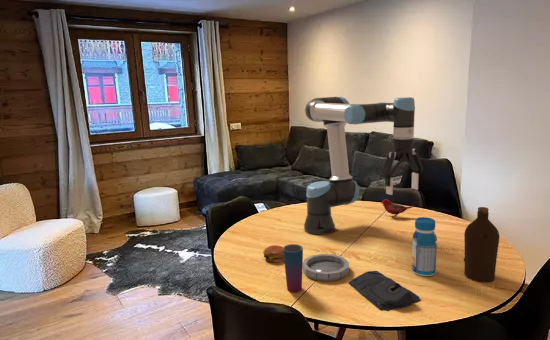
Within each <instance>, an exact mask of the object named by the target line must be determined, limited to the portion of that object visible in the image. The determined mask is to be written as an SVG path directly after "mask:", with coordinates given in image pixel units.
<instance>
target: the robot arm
mask: <svg viewBox="0 0 550 340" xmlns="http://www.w3.org/2000/svg"><path fill="white" fill-rule="evenodd" d="M415 110H416V106H415V99H414V97H395V98H394V99H393V102H385V101H384V102H377V103H361V104H360V103H359V104H358V103H350V102H349V101H348V100H347V98H345V97H343V96H327V97H315V98H313V99H311V100H309V101H308V102H307V104H306V105H305V108H304V113H305V115H306V118H308V120H310V121H312V122H314V123H316V122H317V123H319V122H320V123H323V126H324V127H325V128H326V131H327V141H328V151H329V159H330V170H331V177H330V178H329V180H328V181H326V180H321V181H315V182H312V183H310V184H308V186H307V187H306V210H307V211H306V212H307V213H306V218H305V221H304V225H303V229H304V231H305V232H306V233H308V234H312V235H328V234H331V233H334V231H335V229H336V224H335V222H334V219H333V216H332V208H335V207H340V206H348V205H349V204H353V203H355V202H356V201H357V200H358V198H359V194H360V193H359V192H360V189H359V185H358V183H357V181H355V180H354V178H353V176H352V175H350V170H349V162H348V161H349V159H348V158H349V157H348V151H347V150H348V148H347V141H346V130H345V126H346V125H347V124H348V125H361V124H362V125H363V124H373V123H386V122H388V123H393V132H392V134H393V135H392V137H393V140H392V144H393V145H392V147H393V149H394V151H393V152H392V151H388V152H387V157H386V160H385V162H384V166H383V168H382V171H381V173H380V177H383V178H384V181H385V182H384V184H385V185H384V186H385V194H387V195H391V196H393V191H394V190H393V189H394V187H393V185H394V178H393V175H394V173H395V172H396V170H397V169H398V167H399V165H401V163H407V164H408V166H409V167H410V169H411V170H412V172H411V189H413V190H417V191H418V190H419V181H420V174H422V173H423V171H424V166H423V163H422V160H421V158H420V154H419V149H418V148H414V143H415V139H414V137H415V136H414V135H415V113H416V111H415Z"/></svg>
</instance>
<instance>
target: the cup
mask: <svg viewBox="0 0 550 340" xmlns="http://www.w3.org/2000/svg"><path fill="white" fill-rule="evenodd" d="M282 247H283V254H284V261H283V262H284V263H283V264H284V271H285V272H284V273H285V280H286V281H285V282H286V289H287V291H288V292H290V293H299V292H300V291H302V289H303V267H302V264H303V262H304V259H303V258H304V257H303V256H304V247H303V245H301V244H295V243H291V244H287V245H284V246H282Z"/></svg>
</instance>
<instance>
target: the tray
mask: <svg viewBox="0 0 550 340" xmlns="http://www.w3.org/2000/svg"><path fill="white" fill-rule="evenodd" d="M349 268H350V262H349V261H348V260H347V259H346V258H345V257H344V256H340V255H336V254H332V253H320V254H312V255H310V256H308V257H306V258H304V259H303V264H302V273H303V274H304V275H305V276H306V277H307V278H309V279H311V280H314V281H319V282H335V281H340V280H343V279H344V278H346V277H347V276H348V275H349V271H350V270H349Z"/></svg>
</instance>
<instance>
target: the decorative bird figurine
mask: <svg viewBox="0 0 550 340" xmlns="http://www.w3.org/2000/svg"><path fill="white" fill-rule="evenodd" d="M380 204H382V205H383V207H384V210H385V211H386V212H387V213H389V214H390V215H391V216H390V215H389V216H388V217H390V218H397V217H399V215H400V214H402V213H404V212H405V211H406V210H409V209H411V208H414V207H416V205H411V206H405V205H402V204H398V203H394V202H392V201H391V200H389V199H387V198H385V199H383V200H382V201H381V202H380Z"/></svg>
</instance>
